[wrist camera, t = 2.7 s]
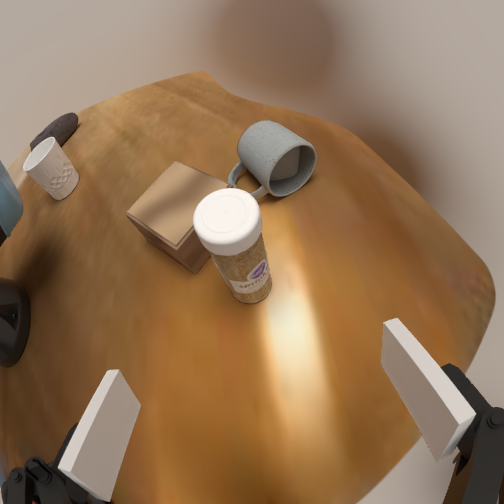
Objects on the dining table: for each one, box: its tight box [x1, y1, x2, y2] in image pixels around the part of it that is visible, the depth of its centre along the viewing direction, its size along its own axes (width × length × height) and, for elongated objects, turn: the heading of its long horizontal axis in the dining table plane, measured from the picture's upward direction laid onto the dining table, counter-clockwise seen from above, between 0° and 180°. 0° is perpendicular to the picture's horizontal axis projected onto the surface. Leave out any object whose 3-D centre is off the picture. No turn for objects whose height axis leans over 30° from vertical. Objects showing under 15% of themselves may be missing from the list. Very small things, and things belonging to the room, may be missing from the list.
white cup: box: [23, 137, 79, 200], centre depth 39 cm, size 8×8×10 cm
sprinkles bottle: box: [193, 188, 272, 303], centre depth 24 cm, size 5×5×14 cm
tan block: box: [125, 161, 234, 274], centre depth 31 cm, size 9×9×6 cm
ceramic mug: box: [228, 120, 317, 200], centre depth 33 cm, size 11×8×8 cm
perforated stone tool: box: [30, 113, 78, 152], centre depth 49 cm, size 15×5×7 cm, turn 148°
